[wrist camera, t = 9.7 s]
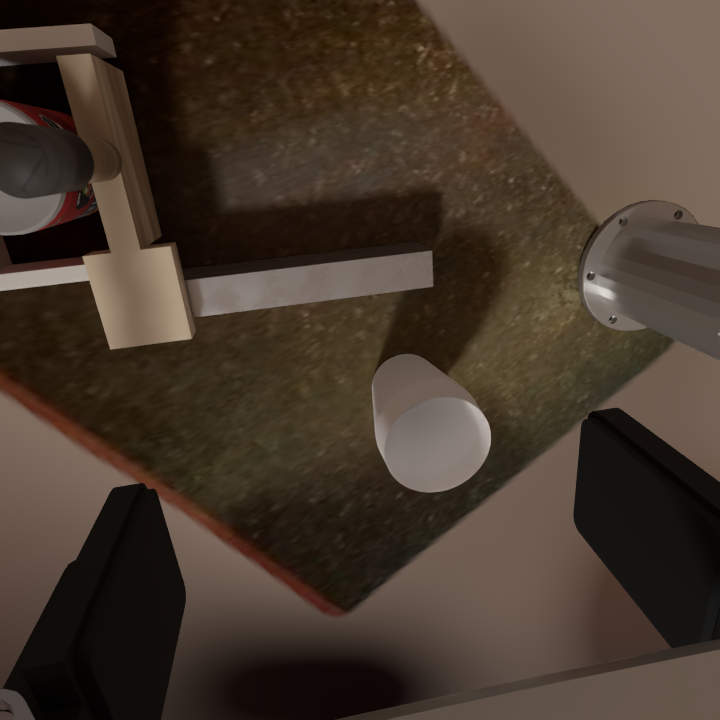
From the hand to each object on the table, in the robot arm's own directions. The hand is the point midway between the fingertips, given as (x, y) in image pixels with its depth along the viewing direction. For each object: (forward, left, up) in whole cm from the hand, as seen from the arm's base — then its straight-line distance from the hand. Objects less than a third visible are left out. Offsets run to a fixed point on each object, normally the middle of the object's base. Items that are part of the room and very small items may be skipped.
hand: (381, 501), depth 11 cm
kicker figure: (+13, -5, -36) cm, 38 cm away
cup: (-8, +15, -36) cm, 40 cm away
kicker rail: (+1, +3, -36) cm, 36 cm away
